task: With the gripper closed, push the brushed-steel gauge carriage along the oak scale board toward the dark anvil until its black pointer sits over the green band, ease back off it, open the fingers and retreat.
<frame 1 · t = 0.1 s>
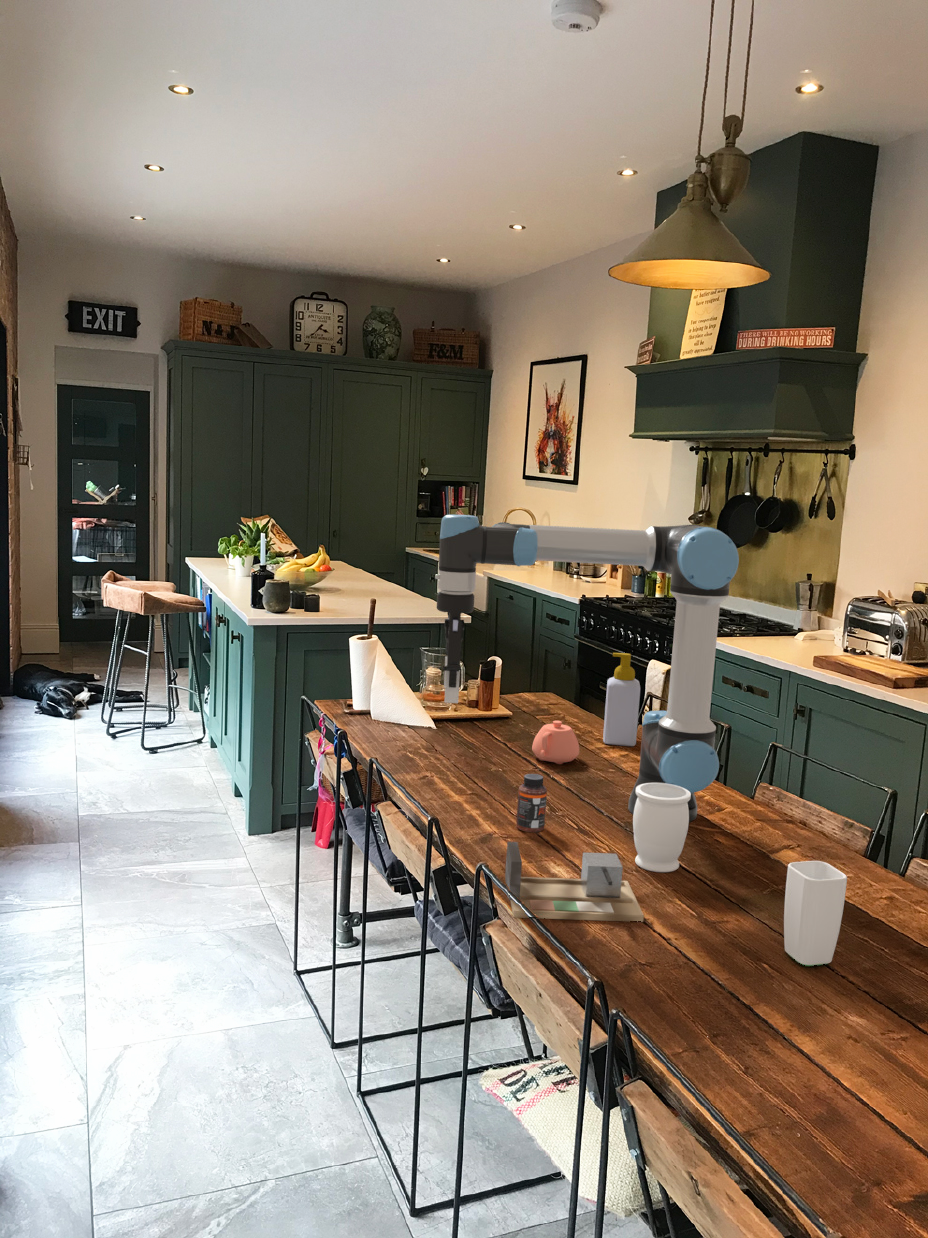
hand: (450, 694, 203), 28 cm above the table, fingers open, 13 cm apart
gauge carriage: (603, 882, 173), point 4 cm above the table, slide at 0.0 cm
jar: (656, 865, 193), on the table
gauge board: (572, 901, 174), on the table
sugar bowl: (553, 760, 258), on the table
soap bottle: (619, 742, 279), on the table
cup: (807, 960, 158), on the table
supplement bottle: (530, 829, 208), on the table
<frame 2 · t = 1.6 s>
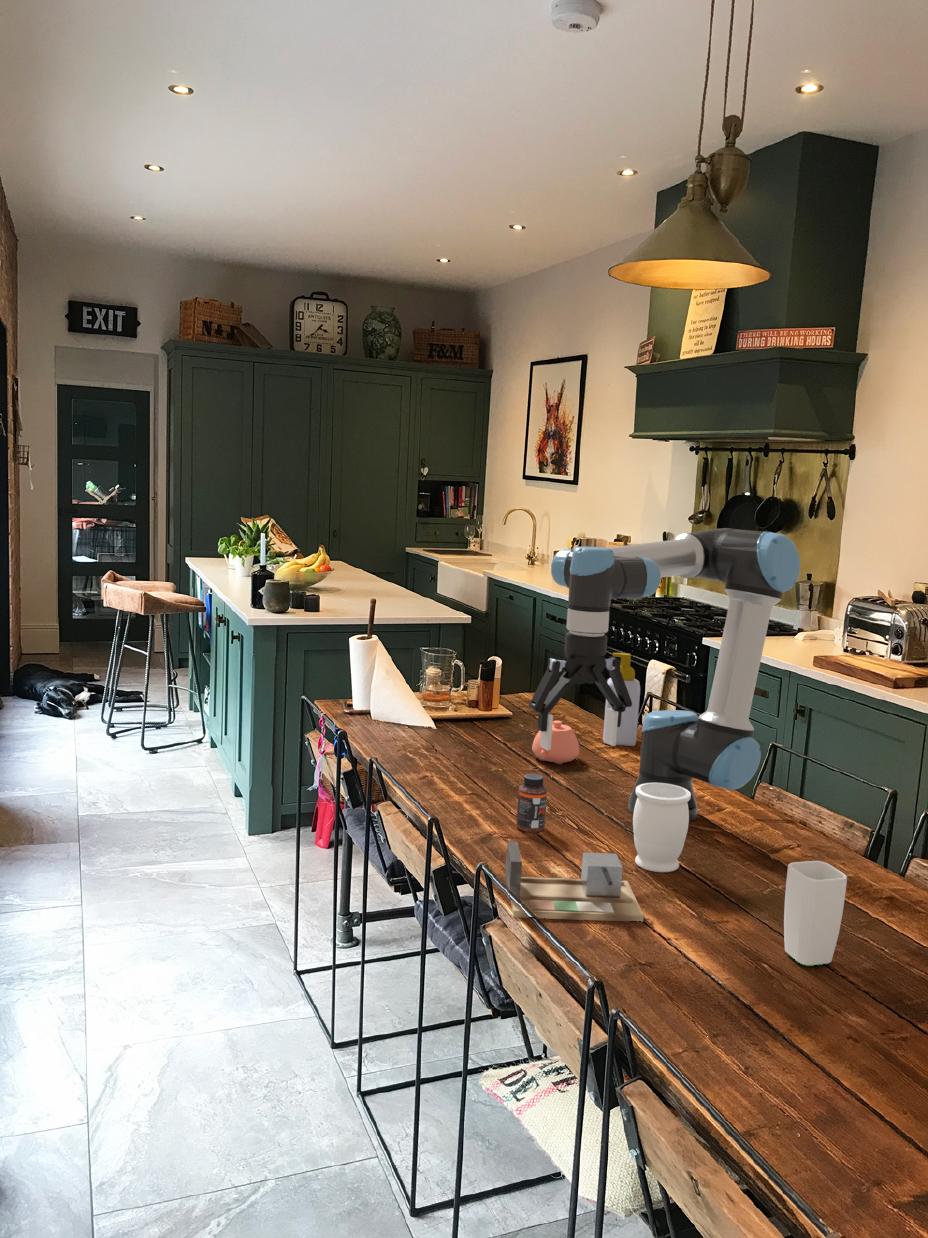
hand: (578, 746, 183), 25 cm above the table, fingers open, 13 cm apart
nothing on the table moved.
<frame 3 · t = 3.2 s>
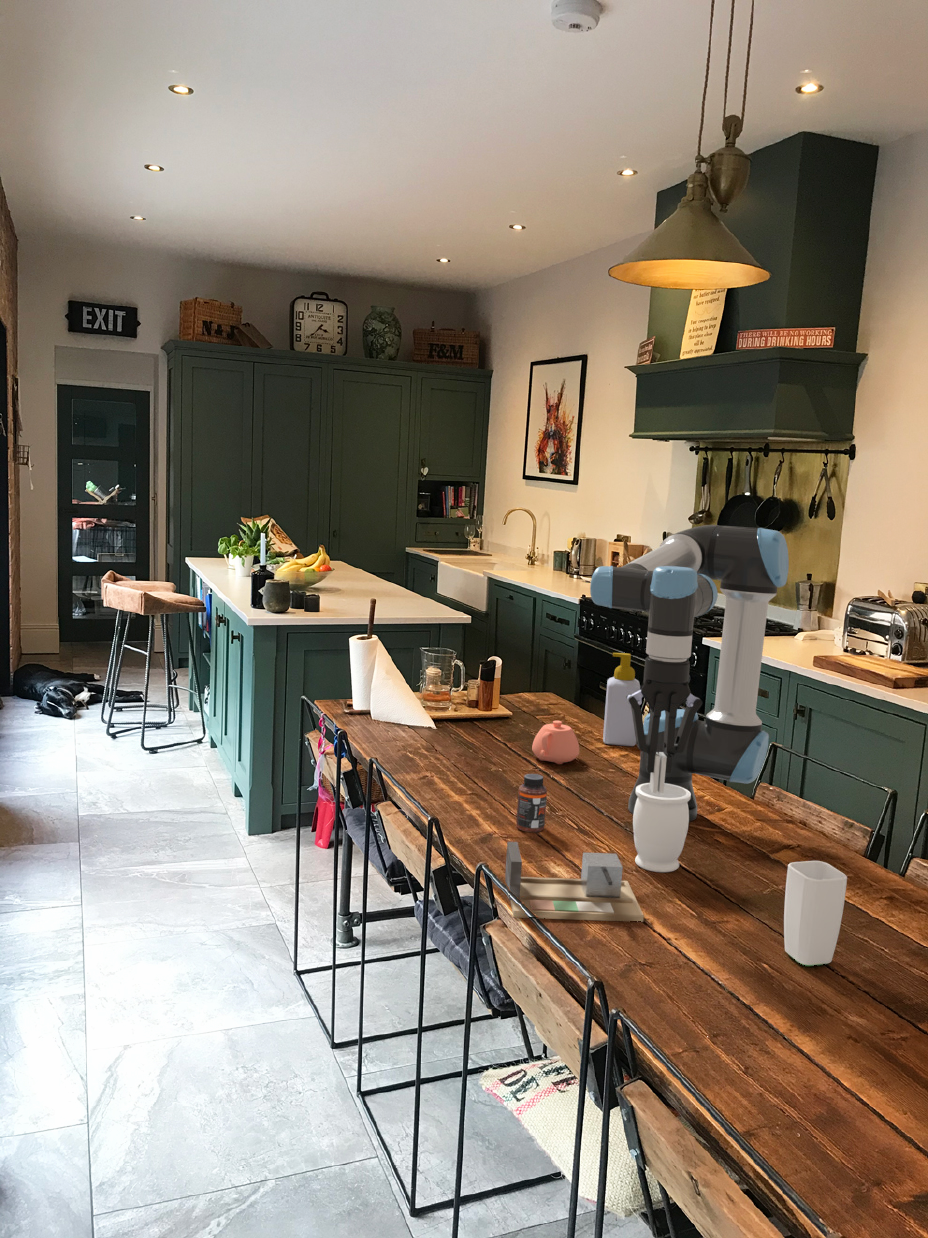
hand: (656, 790, 173), 20 cm above the table, fingers closed
nothing on the table moved.
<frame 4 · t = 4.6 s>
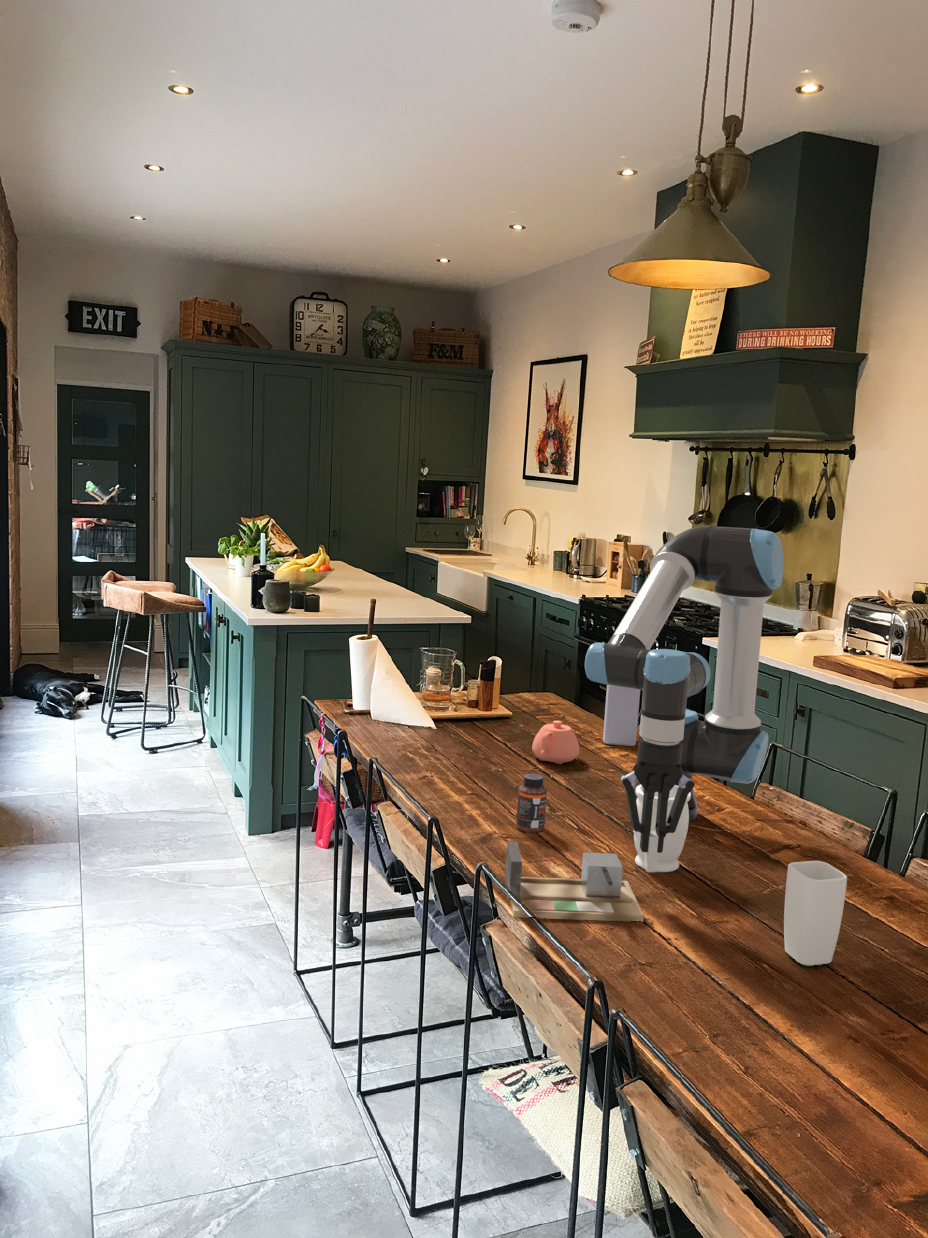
hand: (649, 869, 175), 6 cm above the table, fingers closed
nothing on the table moved.
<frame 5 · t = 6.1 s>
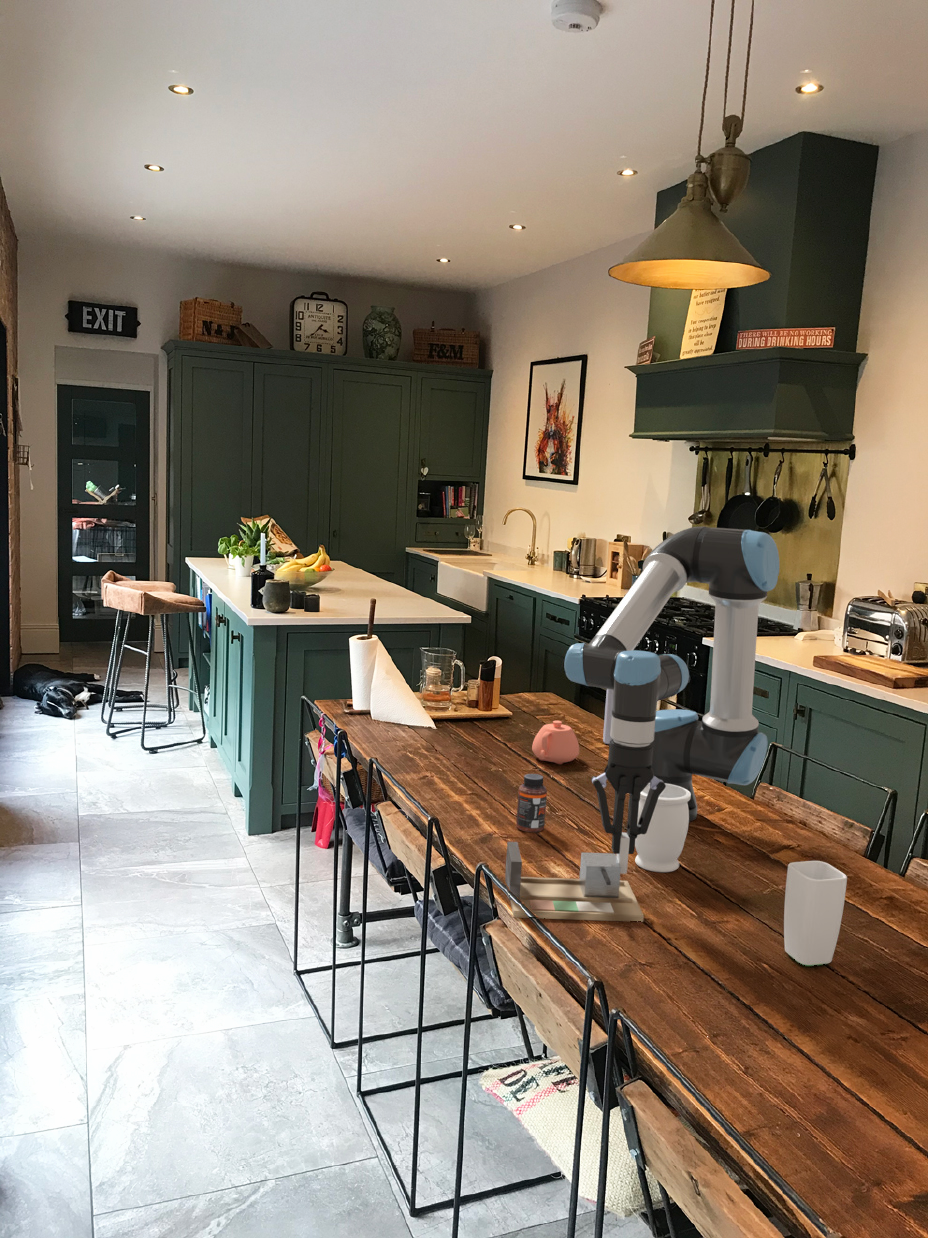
hand: (621, 870, 175), 5 cm above the table, fingers closed
gauge carriage: (602, 882, 172), point 4 cm above the table, slide at 0.3 cm, touching gripper
everything else where it was.
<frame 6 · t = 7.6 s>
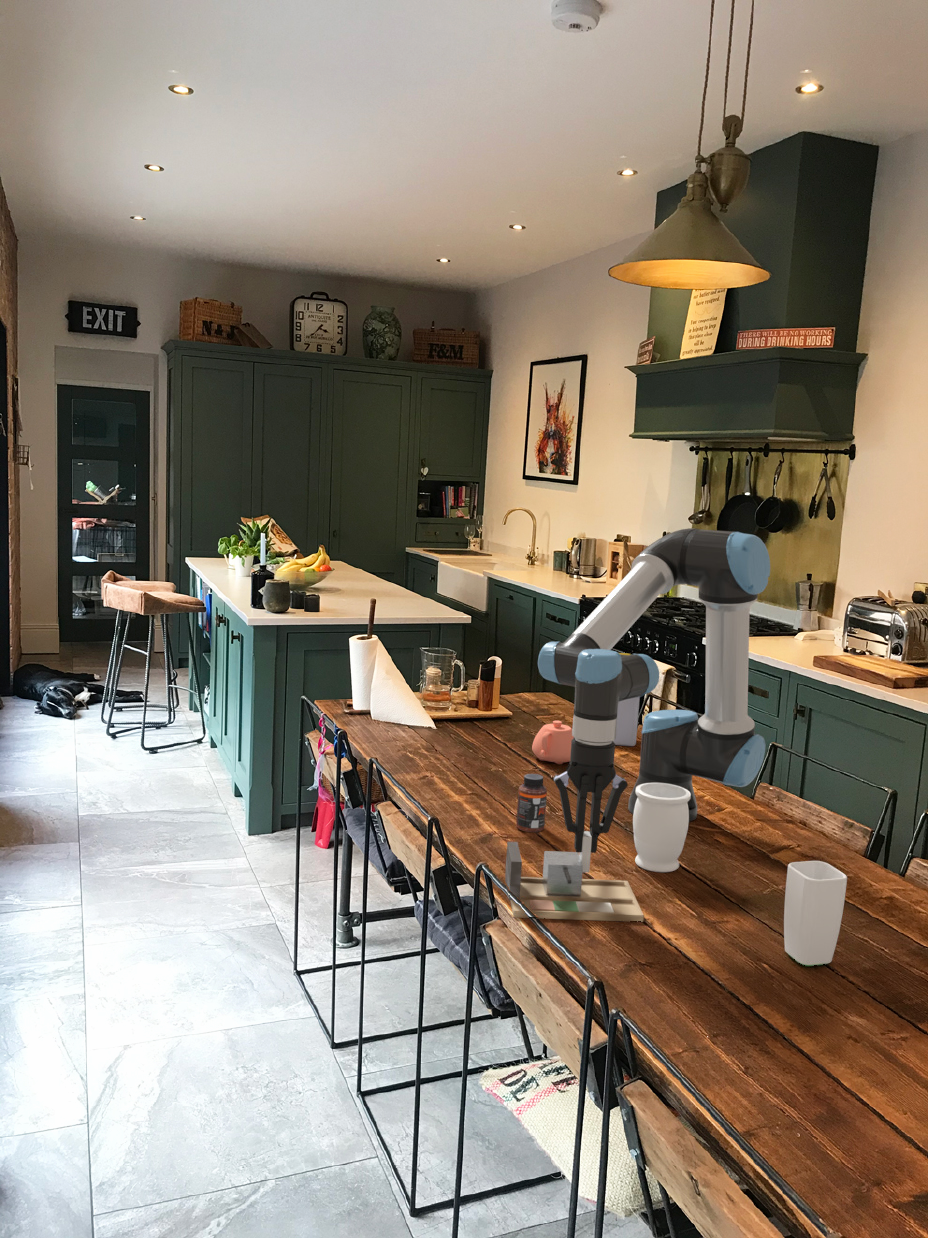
hand: (583, 869, 175), 5 cm above the table, fingers closed
gauge carriage: (564, 880, 172), point 4 cm above the table, slide at 6.9 cm, touching gripper
everything else where it was.
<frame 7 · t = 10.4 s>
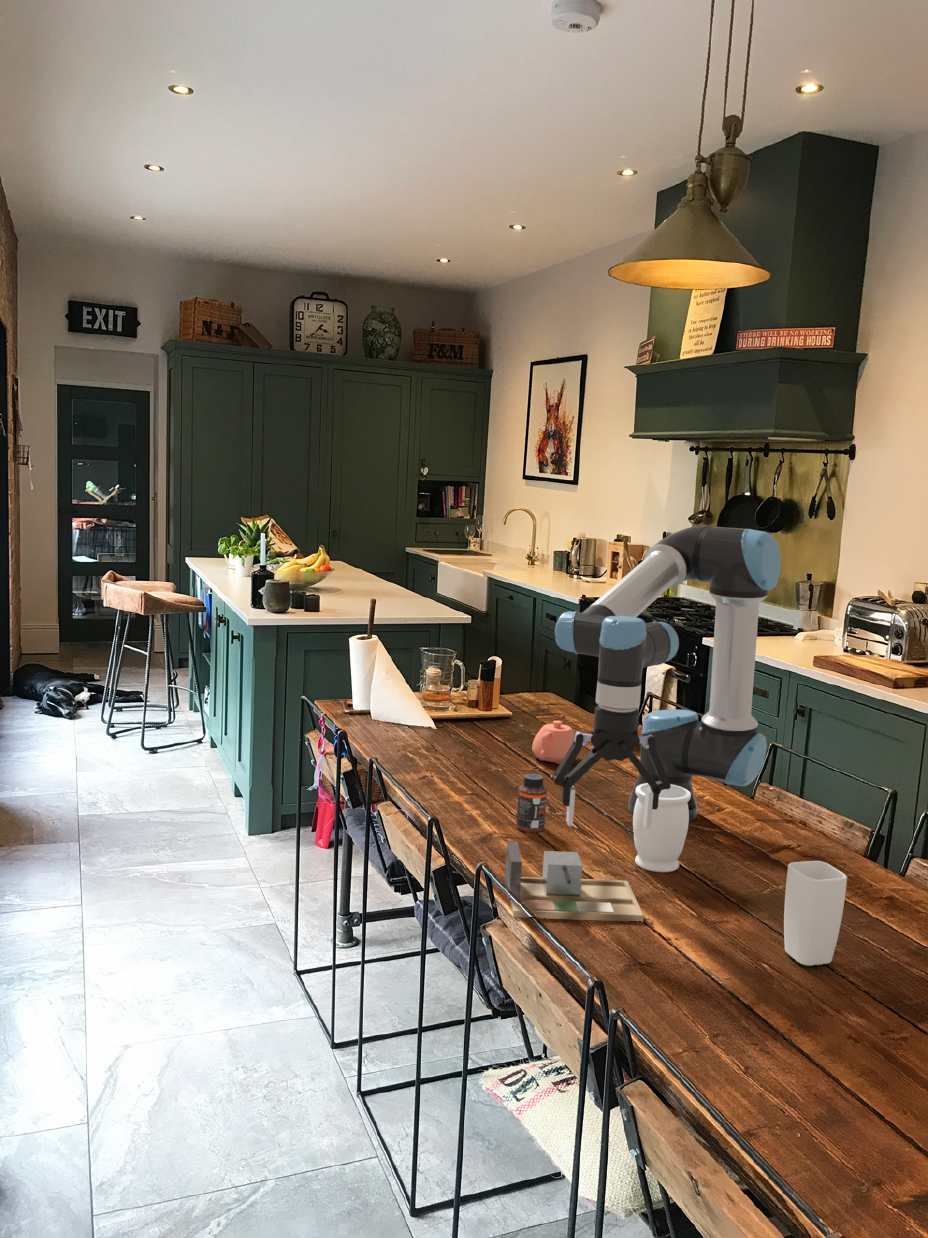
hand: (608, 825, 174), 14 cm above the table, fingers open, 13 cm apart
gauge carriage: (563, 880, 172), point 4 cm above the table, slide at 7.0 cm
everything else where it was.
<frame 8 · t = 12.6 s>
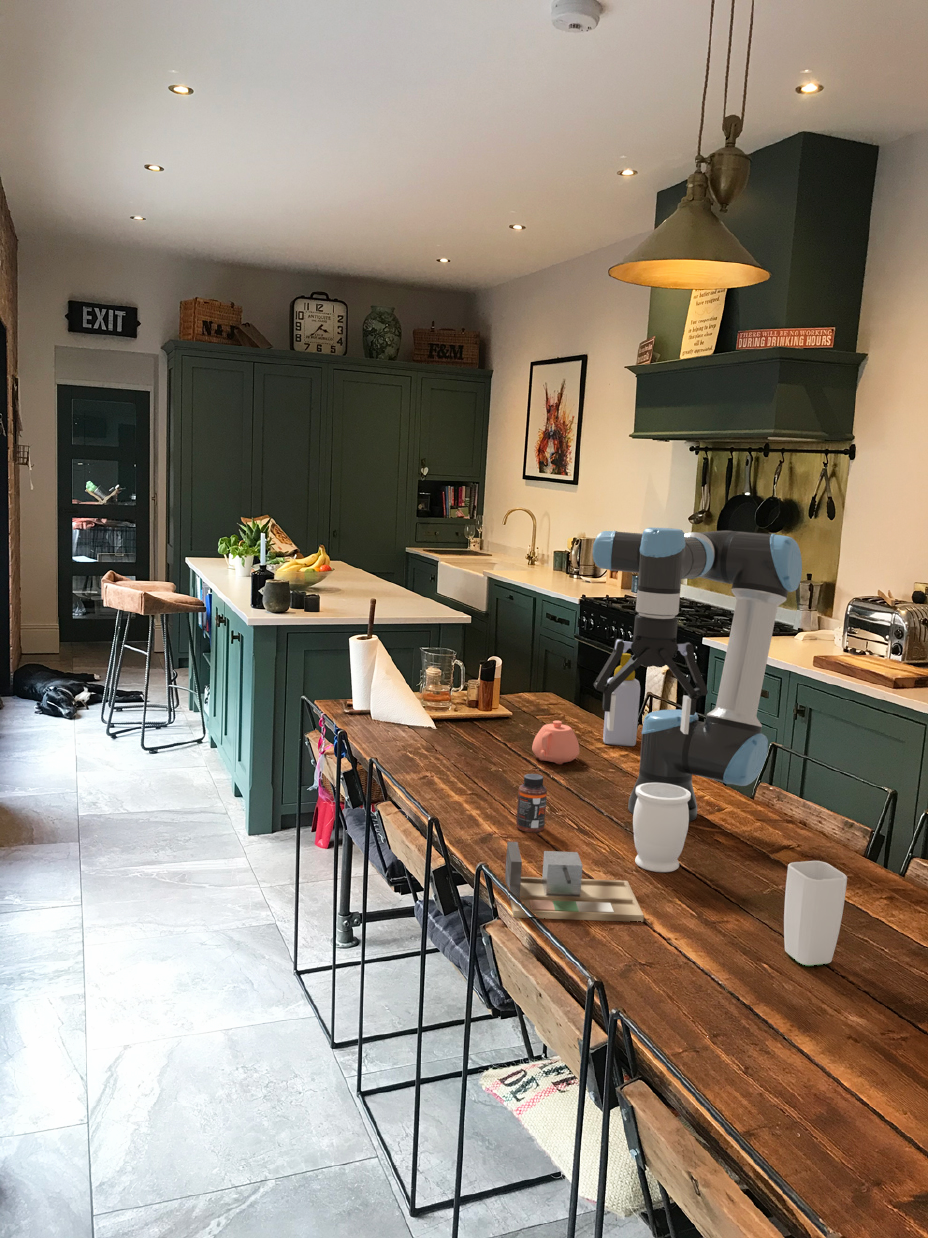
hand: (647, 730, 180), 29 cm above the table, fingers open, 13 cm apart
nothing on the table moved.
at the end: gauge carriage slide at 7.0 cm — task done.
